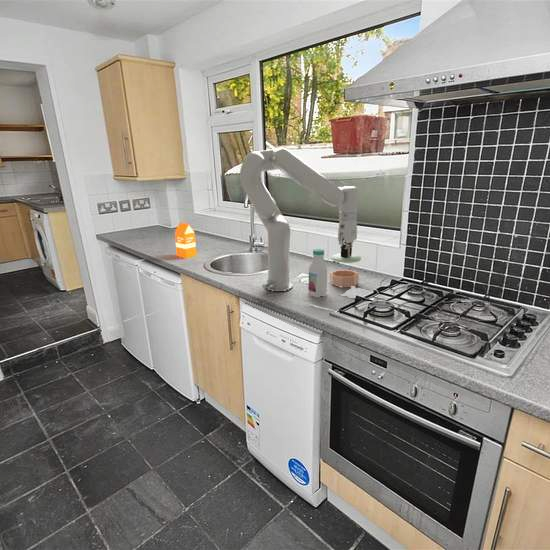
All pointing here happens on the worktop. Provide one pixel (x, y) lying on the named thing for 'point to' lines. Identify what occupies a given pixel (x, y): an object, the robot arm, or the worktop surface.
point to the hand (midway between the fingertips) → (346, 256)
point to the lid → (349, 259)
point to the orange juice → (185, 241)
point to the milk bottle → (317, 274)
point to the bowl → (344, 278)
